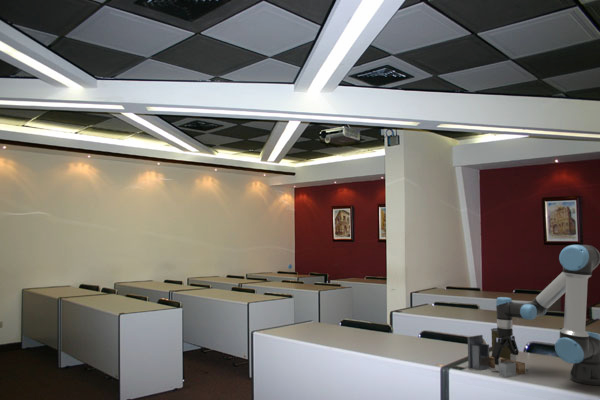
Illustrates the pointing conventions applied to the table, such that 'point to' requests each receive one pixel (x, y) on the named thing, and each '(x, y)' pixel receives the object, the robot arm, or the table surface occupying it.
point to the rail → (519, 365)
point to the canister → (505, 350)
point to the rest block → (507, 369)
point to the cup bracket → (478, 353)
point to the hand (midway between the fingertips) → (505, 369)
